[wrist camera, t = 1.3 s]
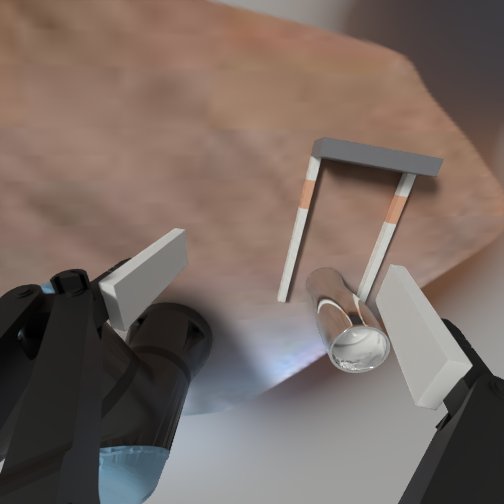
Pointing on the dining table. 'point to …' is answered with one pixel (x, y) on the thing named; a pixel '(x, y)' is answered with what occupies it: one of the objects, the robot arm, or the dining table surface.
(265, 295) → the dining table surface
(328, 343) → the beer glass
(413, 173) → the guide track
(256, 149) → the dining table surface
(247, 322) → the dining table surface
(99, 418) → the robot arm
